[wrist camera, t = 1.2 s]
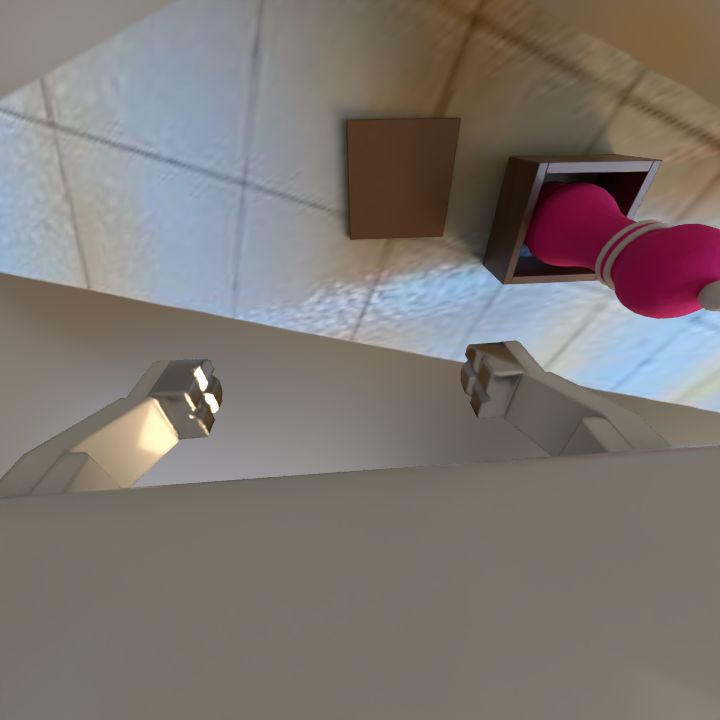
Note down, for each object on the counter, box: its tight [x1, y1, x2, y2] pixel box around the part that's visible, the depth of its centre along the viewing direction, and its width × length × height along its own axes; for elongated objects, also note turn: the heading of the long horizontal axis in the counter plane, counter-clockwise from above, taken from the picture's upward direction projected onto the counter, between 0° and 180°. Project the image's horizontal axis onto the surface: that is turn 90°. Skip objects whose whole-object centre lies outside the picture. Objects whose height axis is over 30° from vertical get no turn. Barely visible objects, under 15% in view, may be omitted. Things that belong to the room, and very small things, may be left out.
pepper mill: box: [523, 182, 720, 319], centre depth 25 cm, size 7×7×20 cm
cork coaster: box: [347, 118, 461, 240], centre depth 30 cm, size 10×10×1 cm
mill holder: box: [483, 154, 662, 284], centre depth 30 cm, size 11×11×6 cm
